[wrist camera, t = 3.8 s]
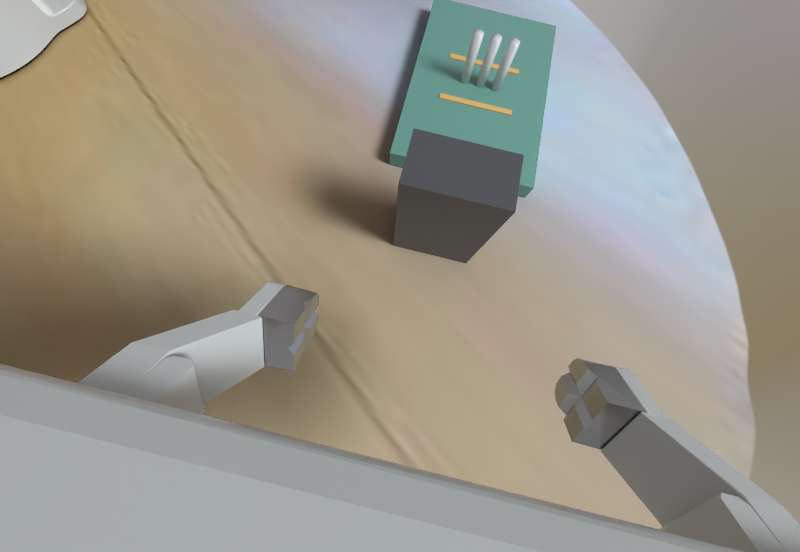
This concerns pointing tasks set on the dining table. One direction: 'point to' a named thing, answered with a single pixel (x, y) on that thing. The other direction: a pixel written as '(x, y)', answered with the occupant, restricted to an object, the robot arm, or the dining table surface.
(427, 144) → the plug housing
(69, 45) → the dining table surface
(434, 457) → the dining table surface
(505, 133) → the teal plate
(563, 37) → the dining table surface
